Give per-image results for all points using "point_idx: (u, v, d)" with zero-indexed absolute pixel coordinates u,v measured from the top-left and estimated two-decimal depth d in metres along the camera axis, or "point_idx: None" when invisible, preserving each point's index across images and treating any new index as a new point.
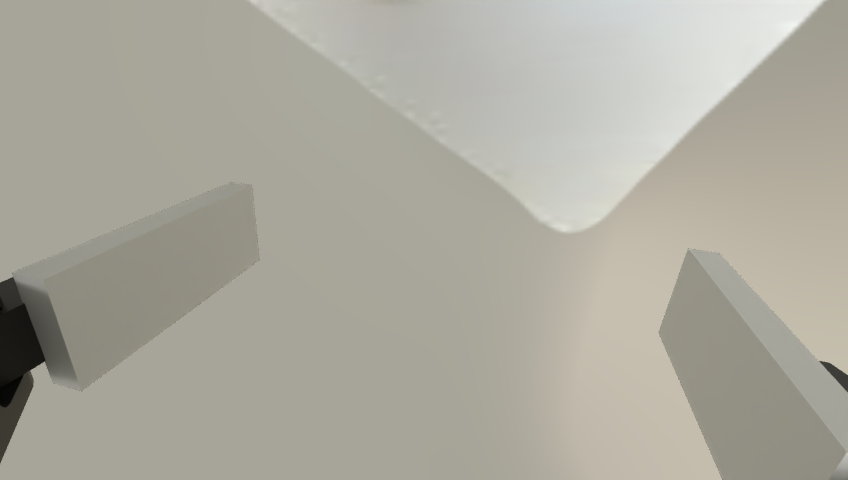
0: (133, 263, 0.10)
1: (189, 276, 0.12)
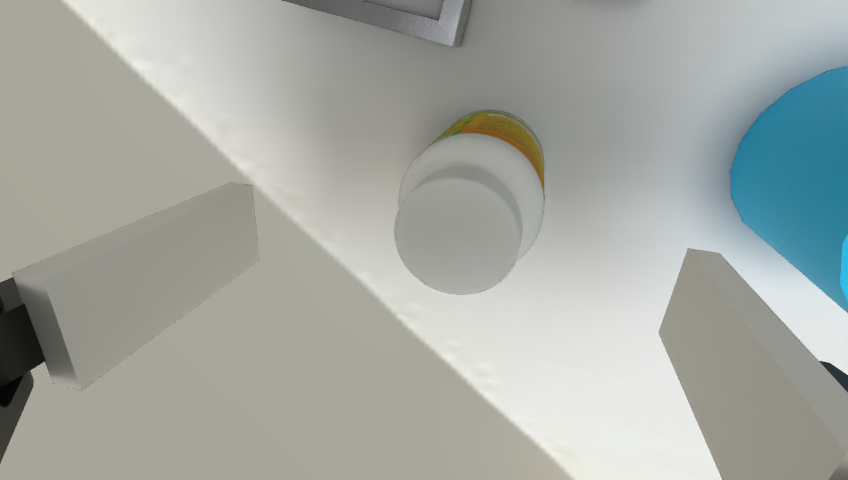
0: (133, 263, 0.10)
1: (189, 276, 0.12)
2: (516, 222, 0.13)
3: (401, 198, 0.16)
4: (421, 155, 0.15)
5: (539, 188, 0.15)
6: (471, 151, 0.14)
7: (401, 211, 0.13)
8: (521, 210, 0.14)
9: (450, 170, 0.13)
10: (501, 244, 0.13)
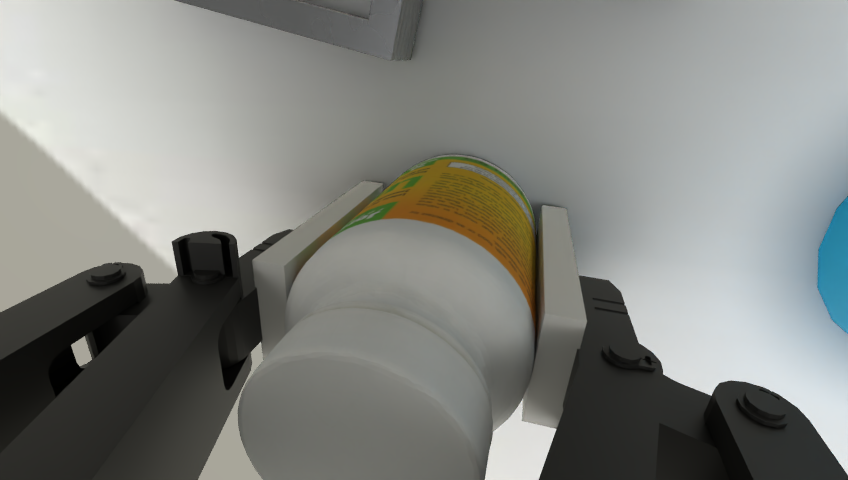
0: None
1: None
2: (474, 445, 0.06)
3: (285, 327, 0.09)
4: (314, 258, 0.08)
5: (526, 323, 0.08)
6: (397, 261, 0.08)
7: (244, 399, 0.07)
8: (492, 368, 0.08)
9: (343, 317, 0.06)
10: None
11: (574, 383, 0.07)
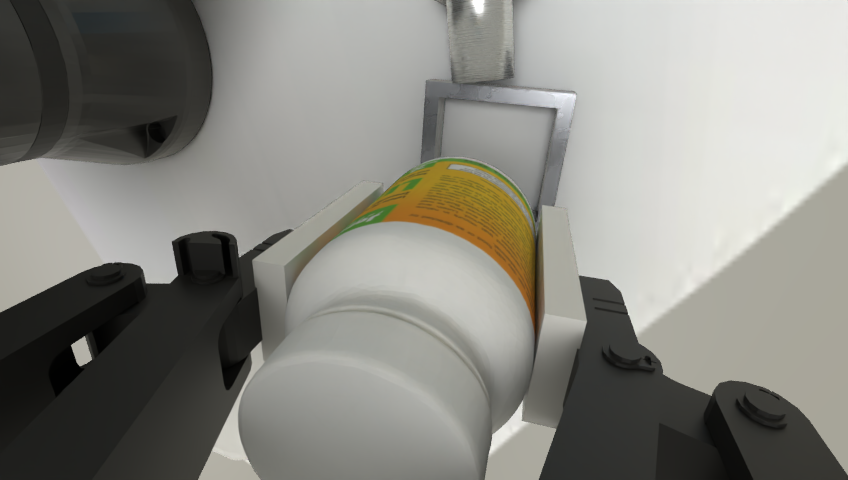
0: None
1: None
2: (473, 448, 0.06)
3: (285, 329, 0.09)
4: (314, 261, 0.08)
5: (525, 326, 0.08)
6: (396, 264, 0.08)
7: (244, 402, 0.07)
8: (492, 371, 0.08)
9: (342, 321, 0.06)
10: None
11: (573, 383, 0.07)
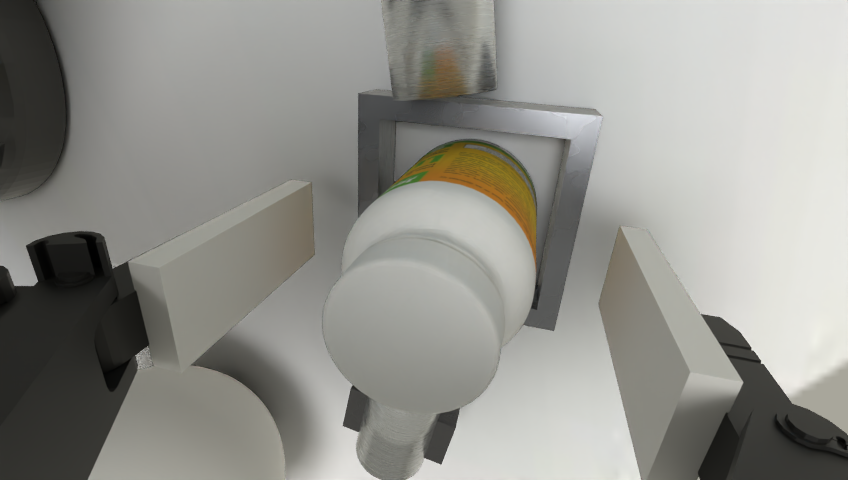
0: (222, 254, 0.10)
1: (262, 268, 0.12)
2: (494, 324, 0.09)
3: (343, 266, 0.12)
4: (368, 211, 0.11)
5: (529, 258, 0.11)
6: (433, 209, 0.10)
7: (329, 301, 0.09)
8: (504, 290, 0.10)
9: (399, 243, 0.09)
10: (472, 354, 0.09)
11: (741, 454, 0.06)
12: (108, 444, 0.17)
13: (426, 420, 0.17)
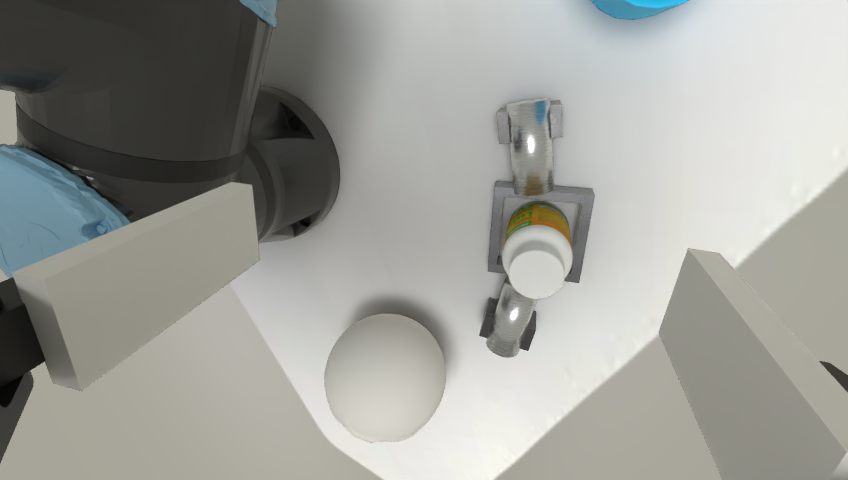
0: (133, 263, 0.10)
1: (189, 276, 0.12)
2: (563, 267, 0.30)
3: (504, 255, 0.34)
4: (514, 235, 0.33)
5: (570, 249, 0.32)
6: (539, 234, 0.32)
7: (512, 264, 0.31)
8: (562, 259, 0.32)
9: (532, 245, 0.31)
10: (556, 276, 0.31)
11: None
12: (386, 339, 0.39)
13: (523, 325, 0.39)
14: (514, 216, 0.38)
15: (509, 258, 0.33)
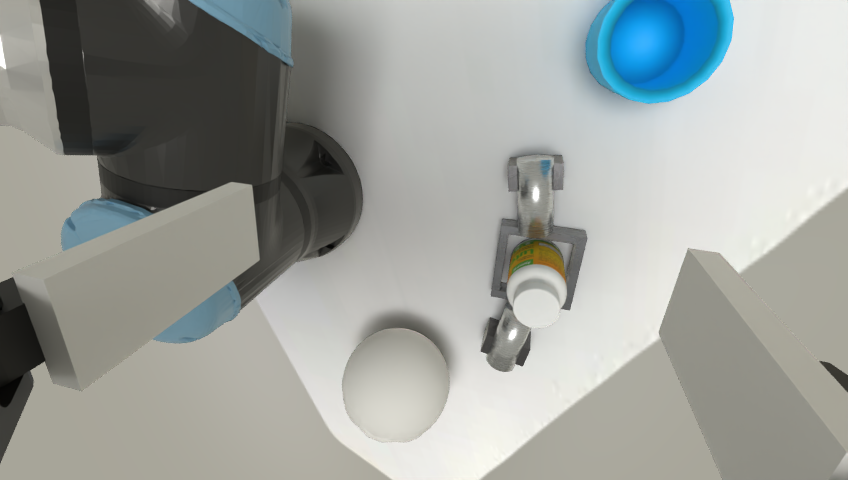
0: (133, 263, 0.10)
1: (189, 276, 0.12)
2: (559, 304, 0.36)
3: (509, 288, 0.39)
4: (518, 272, 0.39)
5: (565, 286, 0.38)
6: (540, 273, 0.38)
7: (516, 298, 0.37)
8: (558, 295, 0.38)
9: (534, 284, 0.37)
10: (553, 311, 0.36)
11: None
12: (400, 353, 0.44)
13: (520, 345, 0.45)
14: (517, 251, 0.43)
15: (512, 291, 0.39)
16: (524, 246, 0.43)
